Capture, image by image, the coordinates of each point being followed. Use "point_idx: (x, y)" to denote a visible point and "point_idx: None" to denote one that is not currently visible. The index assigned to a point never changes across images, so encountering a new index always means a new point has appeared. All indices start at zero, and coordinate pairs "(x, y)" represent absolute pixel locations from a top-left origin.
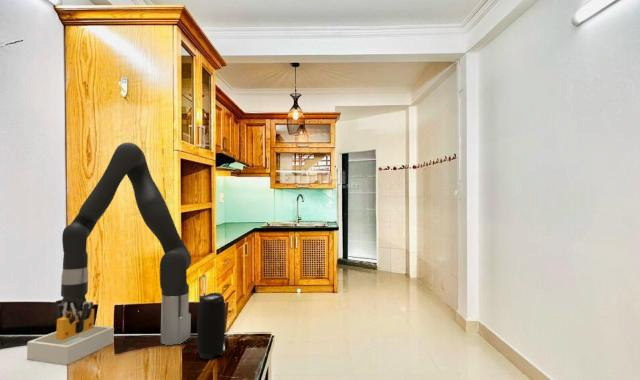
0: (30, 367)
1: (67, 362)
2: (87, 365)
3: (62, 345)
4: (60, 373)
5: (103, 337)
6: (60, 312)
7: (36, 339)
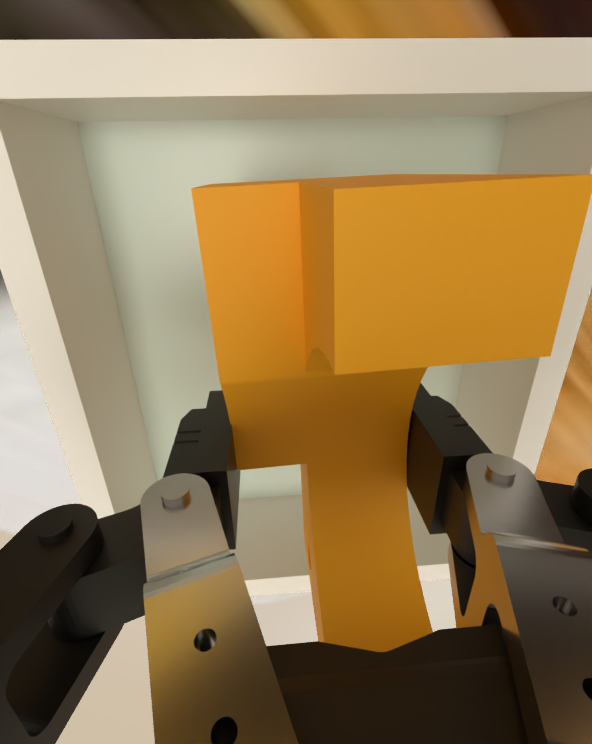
0: None
1: None
2: (566, 454)
3: (444, 569)
4: None
5: None
6: (75, 702)
7: None
